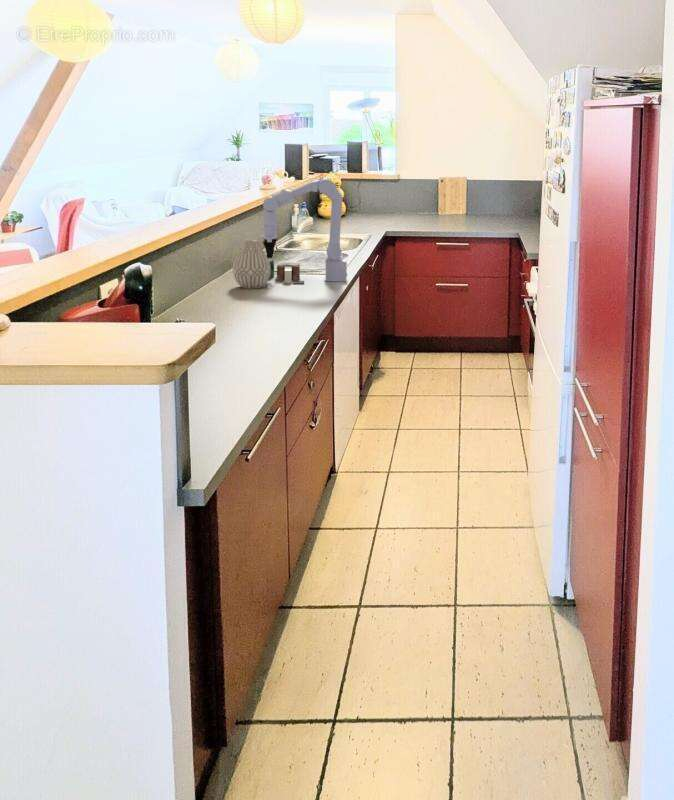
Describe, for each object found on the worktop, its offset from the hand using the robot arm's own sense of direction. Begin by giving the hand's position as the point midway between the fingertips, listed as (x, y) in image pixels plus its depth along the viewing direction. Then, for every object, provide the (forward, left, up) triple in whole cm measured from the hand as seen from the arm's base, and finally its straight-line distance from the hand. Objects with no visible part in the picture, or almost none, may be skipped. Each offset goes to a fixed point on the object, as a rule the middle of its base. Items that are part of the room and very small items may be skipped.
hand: (270, 256), depth 431 cm
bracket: (+4, -2, -10) cm, 11 cm away
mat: (-12, +8, -10) cm, 18 cm away
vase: (+7, +19, -10) cm, 23 cm away
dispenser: (-8, -3, -10) cm, 13 cm away
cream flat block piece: (-8, +2, -10) cm, 13 cm away
